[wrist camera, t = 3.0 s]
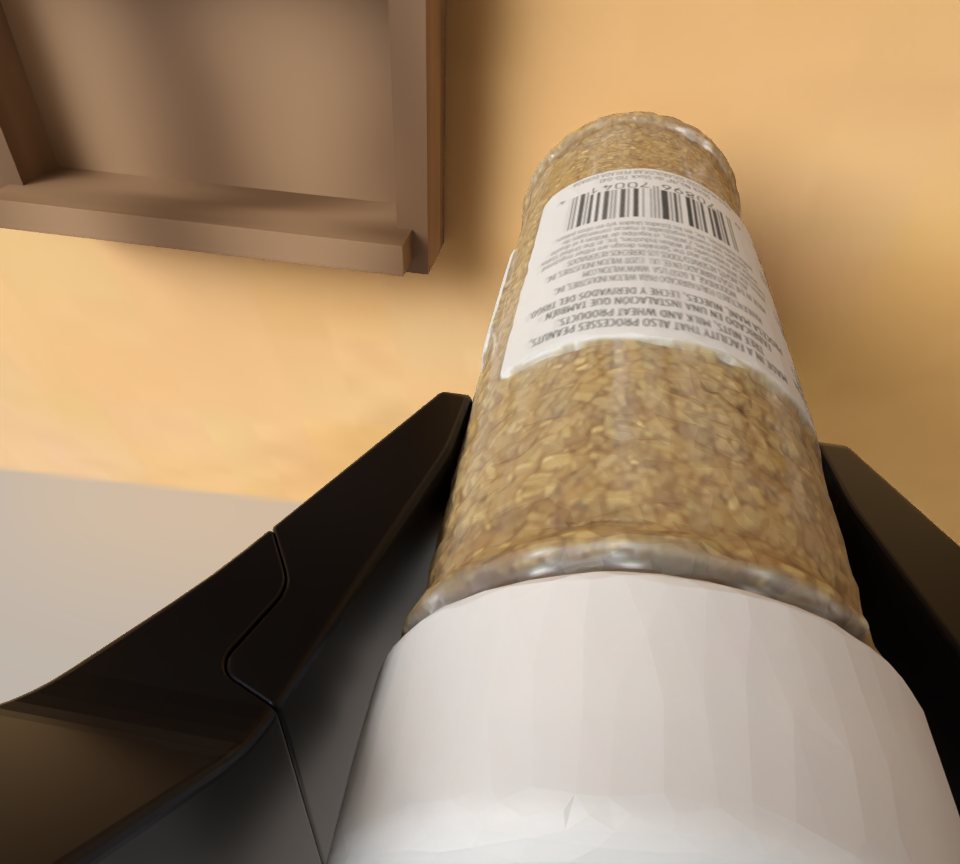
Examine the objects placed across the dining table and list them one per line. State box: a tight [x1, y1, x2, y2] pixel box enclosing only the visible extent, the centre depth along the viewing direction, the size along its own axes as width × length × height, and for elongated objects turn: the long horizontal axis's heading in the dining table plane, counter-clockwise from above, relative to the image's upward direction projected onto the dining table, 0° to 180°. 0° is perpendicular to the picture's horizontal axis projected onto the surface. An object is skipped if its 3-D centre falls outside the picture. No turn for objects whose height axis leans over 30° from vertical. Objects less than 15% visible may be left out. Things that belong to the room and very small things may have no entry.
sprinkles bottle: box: [327, 112, 960, 864], centre depth 10 cm, size 5×5×14 cm
